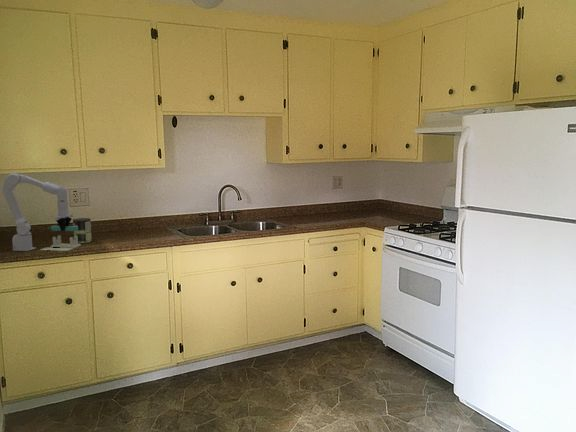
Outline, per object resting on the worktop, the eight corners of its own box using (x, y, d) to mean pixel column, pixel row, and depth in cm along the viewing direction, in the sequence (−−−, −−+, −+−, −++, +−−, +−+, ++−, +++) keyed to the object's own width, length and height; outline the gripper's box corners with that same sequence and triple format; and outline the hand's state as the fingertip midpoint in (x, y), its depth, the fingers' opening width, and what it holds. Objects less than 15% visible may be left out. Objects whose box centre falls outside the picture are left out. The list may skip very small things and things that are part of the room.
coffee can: (77, 243, 279) (76, 221, 277) (71, 241, 286) (70, 219, 284) (94, 241, 286) (93, 219, 284) (88, 239, 294) (86, 217, 292)
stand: (50, 247, 268) (49, 237, 267) (58, 245, 275) (57, 235, 274) (73, 248, 266) (73, 238, 265) (80, 245, 273) (80, 235, 272)
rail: (51, 230, 269) (50, 226, 269) (53, 229, 271) (53, 225, 271) (75, 231, 267) (75, 227, 266) (78, 230, 269) (78, 226, 269)
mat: (39, 250, 260) (39, 249, 260) (46, 248, 266) (46, 247, 266) (66, 251, 258) (66, 250, 258) (73, 248, 264) (73, 248, 264)
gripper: (61, 209, 259) (62, 232, 261) (76, 206, 274) (78, 228, 275) (50, 209, 260) (51, 232, 262) (66, 206, 275) (67, 228, 277)
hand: (64, 230), depth 269 cm, fingers closed on rail, 2 cm apart
